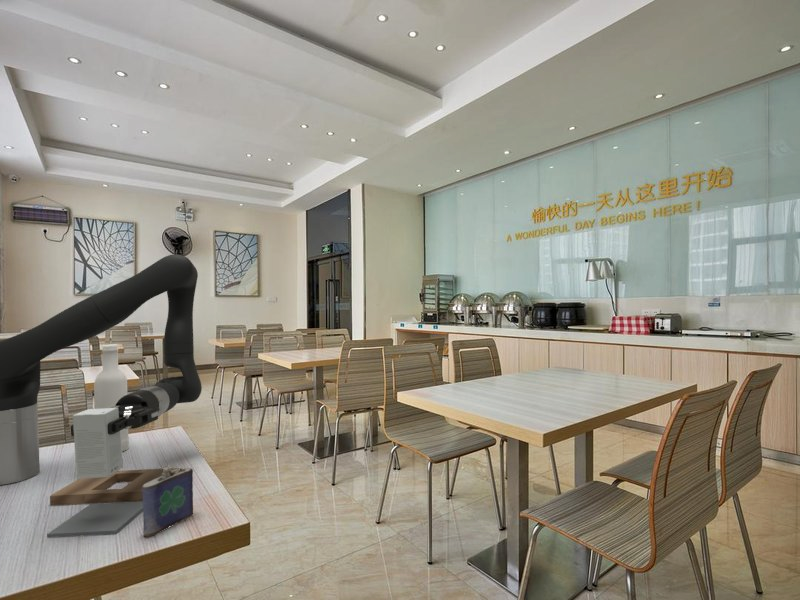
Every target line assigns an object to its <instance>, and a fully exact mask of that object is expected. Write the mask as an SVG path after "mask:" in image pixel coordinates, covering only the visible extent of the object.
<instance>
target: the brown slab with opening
mask: <svg viewBox="0 0 800 600" xmlns="http://www.w3.org/2000/svg"><path fill="white" fill-rule="evenodd" d="M178 468H179V467H172V468H171V467H170V470H173V471H174V470H176V469H178ZM162 473H163V468H162V469H161V468H150V469H149V468H148V469H146V468H145V469H125V470H124V469H123V470H118V471H117V472H115V473H114V474H113V475H111V476H110V477H99V478H84V479H76V480H75V481H73V482H71V483H69V484H68V485H66V486H64V487H63V488H61V489H59V490H57V491H56V492H54V493H52V494H50V495H49V506H66V505H67V506H68V505H87V504H88V505H90V504H98V503H118V502H138V501H143V491H142V489H143V488H142V486H143V485H144V484H146V483H148V482H150V481H152V480H154V479H156V478H159V477H161V476H163V475H162ZM117 483H127V484H126V485H124V487H122V488H111V487H112V486H114V485H115V484H117ZM109 488H110V489H109Z"/></svg>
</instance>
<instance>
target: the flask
mask: <svg viewBox="0 0 800 600" xmlns="http://www.w3.org/2000/svg"><path fill="white" fill-rule="evenodd" d="M170 468H171V467H170V465H168V464H166V465H164V466H163V467H160V469H163V473H162V475H163V476H161V477H159V478H156V479H154V480H152V481H150V482H148V483H146V484H144V485H143V486H142V488H143V489H142V491H143V511H142V513H143V514H142V515H143V517H142V518H143V520H142V522H143V525H142V526H143V531H142V533H143V536H144V535H145V536H144V537H147V536H150V537H152V536H155V535H154V534H156V535H158V534H157V533H159V532H160V531H161V532H163V531H165V530H164V529H166V528H168V527H169V526H172V525H174V526H175V525H176V524H179V523H181V522H182V521H185V520H187V519H189V518H192V517H193V516H194V499H193V498H194V492H193V491H194V490H193V486H194V484H193V483H194V481H193V480H194V479H193V478H194V476H193V475H194V474H193V472H194V469H193V468H191V467H177V468H178V469H176V470H174V471H173V470H170ZM172 527H173V526H172ZM168 529H169V528H168ZM162 530H163V531H162ZM166 530H167V529H166ZM161 532H160V533H161ZM160 533H159V534H160Z"/></svg>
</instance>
